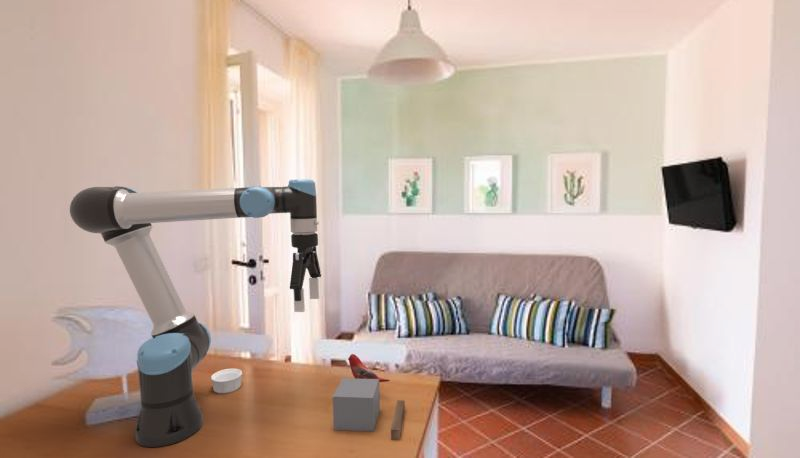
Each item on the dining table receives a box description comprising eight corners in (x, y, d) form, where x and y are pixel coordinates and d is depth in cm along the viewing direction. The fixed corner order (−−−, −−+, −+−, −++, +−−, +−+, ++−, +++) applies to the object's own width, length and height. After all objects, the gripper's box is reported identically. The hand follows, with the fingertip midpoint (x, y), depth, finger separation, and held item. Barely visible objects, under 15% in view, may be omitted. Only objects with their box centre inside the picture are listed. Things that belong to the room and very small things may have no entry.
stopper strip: (391, 439, 101) (390, 429, 101) (397, 408, 115) (397, 400, 115) (399, 439, 101) (399, 429, 101) (404, 409, 115) (404, 400, 115)
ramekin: (248, 382, 133) (247, 369, 133) (232, 395, 125) (231, 381, 124) (222, 380, 135) (222, 367, 135) (205, 393, 126) (204, 380, 126)
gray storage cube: (333, 429, 106) (332, 396, 105) (343, 408, 116) (342, 378, 115) (373, 431, 105) (372, 397, 104) (379, 410, 115) (379, 379, 114)
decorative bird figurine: (352, 381, 132) (351, 350, 131) (393, 399, 120) (392, 365, 119) (345, 384, 130) (344, 353, 129) (386, 403, 118) (386, 369, 117)
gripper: (302, 238, 108) (306, 318, 111) (328, 228, 133) (331, 294, 135) (274, 238, 109) (278, 317, 111) (305, 228, 134) (308, 293, 136)
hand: (307, 304), depth 123 cm, fingers open, 13 cm apart
